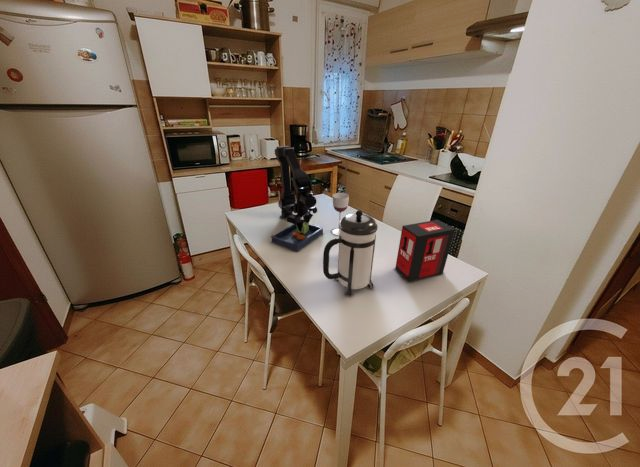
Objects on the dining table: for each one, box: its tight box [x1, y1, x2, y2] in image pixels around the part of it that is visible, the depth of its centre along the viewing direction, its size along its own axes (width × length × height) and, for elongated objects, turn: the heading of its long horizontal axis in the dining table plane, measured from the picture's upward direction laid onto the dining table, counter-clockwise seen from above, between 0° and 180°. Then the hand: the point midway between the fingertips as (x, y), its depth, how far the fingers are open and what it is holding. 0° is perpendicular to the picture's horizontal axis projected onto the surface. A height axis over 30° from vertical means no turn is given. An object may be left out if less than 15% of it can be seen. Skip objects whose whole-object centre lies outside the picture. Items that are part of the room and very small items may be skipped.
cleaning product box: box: [394, 219, 456, 283], centre depth 102 cm, size 16×9×20 cm, turn 110°
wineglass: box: [331, 192, 350, 236], centre depth 132 cm, size 8×9×20 cm
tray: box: [271, 223, 324, 253], centre depth 130 cm, size 22×16×3 cm
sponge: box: [296, 222, 310, 234], centre depth 135 cm, size 4×5×4 cm
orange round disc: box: [297, 235, 305, 241], centre depth 129 cm, size 4×4×1 cm
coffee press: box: [322, 209, 379, 296], centre depth 92 cm, size 17×16×30 cm
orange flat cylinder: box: [292, 232, 300, 237], centre depth 132 cm, size 4×4×1 cm
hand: (302, 229), depth 135 cm, fingers closed on sponge, 4 cm apart
